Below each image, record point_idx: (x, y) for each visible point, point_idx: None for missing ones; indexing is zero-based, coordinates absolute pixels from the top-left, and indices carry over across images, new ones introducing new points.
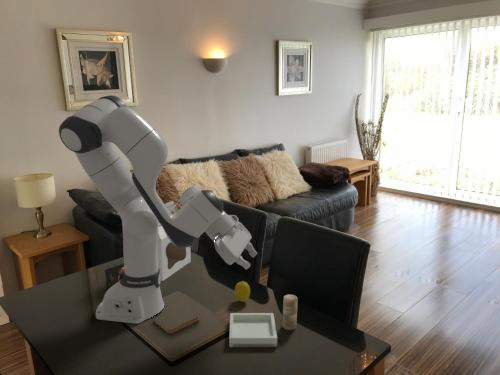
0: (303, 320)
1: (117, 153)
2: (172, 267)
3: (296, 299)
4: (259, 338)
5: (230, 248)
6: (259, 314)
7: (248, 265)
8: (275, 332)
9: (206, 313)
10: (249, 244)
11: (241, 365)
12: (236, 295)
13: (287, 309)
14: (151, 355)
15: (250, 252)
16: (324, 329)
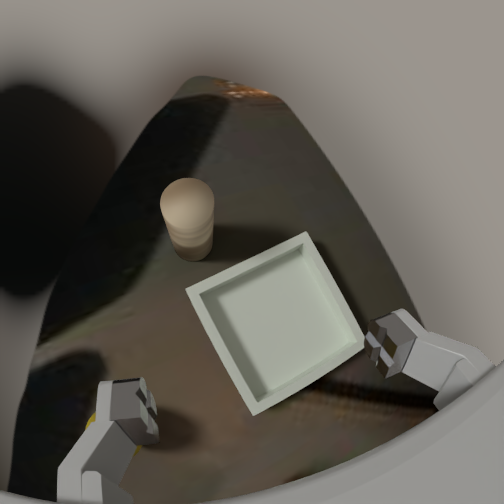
0: (147, 218)
1: None
2: None
3: (191, 179)
4: (329, 273)
5: None
6: (215, 327)
7: (407, 315)
8: (285, 244)
9: (243, 484)
10: (103, 485)
11: (390, 286)
12: (141, 445)
13: (213, 218)
14: None
15: (128, 442)
16: (171, 163)
